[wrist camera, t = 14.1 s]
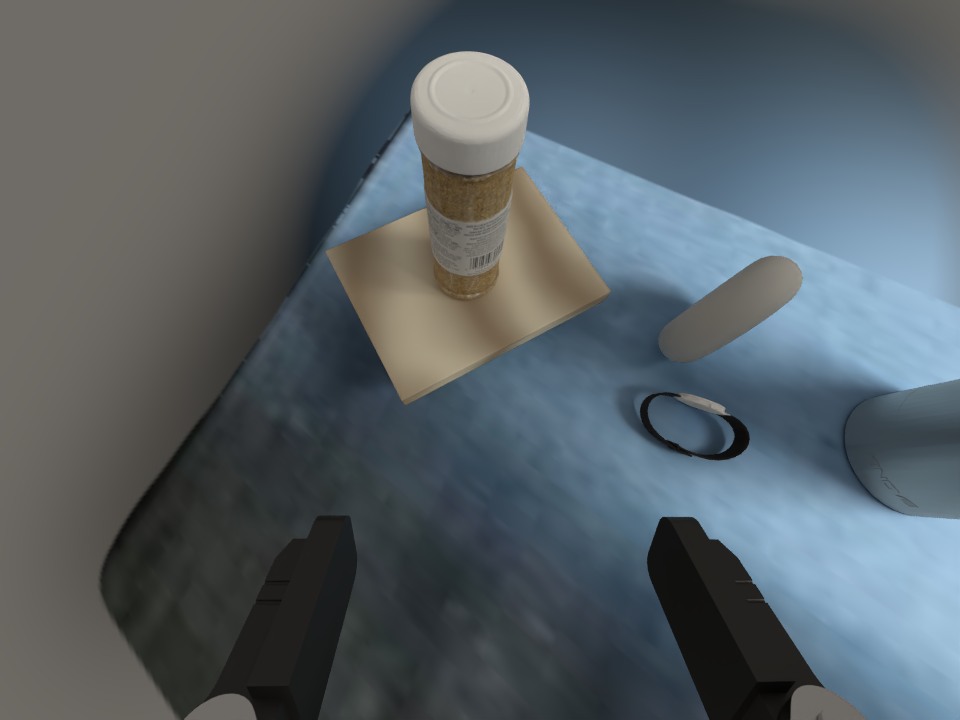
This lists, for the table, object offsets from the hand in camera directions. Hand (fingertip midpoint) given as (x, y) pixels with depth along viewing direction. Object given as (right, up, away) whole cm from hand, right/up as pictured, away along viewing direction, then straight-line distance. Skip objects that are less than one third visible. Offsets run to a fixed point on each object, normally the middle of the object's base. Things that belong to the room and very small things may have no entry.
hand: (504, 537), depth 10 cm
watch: (+15, -1, +21) cm, 26 cm away
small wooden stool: (-2, +9, +23) cm, 25 cm away
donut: (+17, +7, +23) cm, 29 cm away
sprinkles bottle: (-2, +11, +17) cm, 20 cm away
